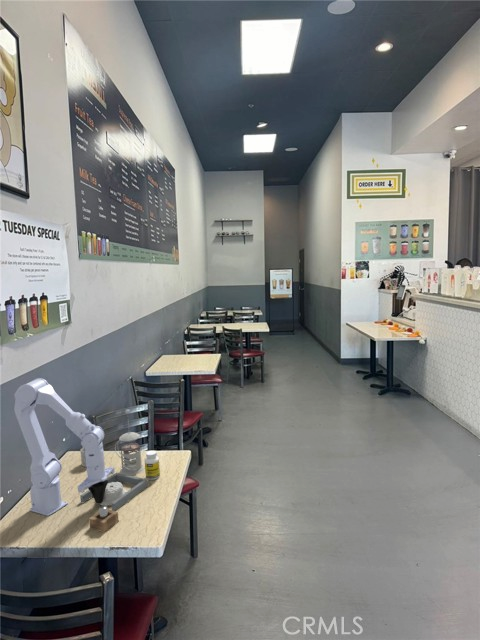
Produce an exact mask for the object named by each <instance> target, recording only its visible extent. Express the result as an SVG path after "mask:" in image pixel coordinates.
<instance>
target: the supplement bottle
mask: <svg viewBox="0 0 480 640" xmlns="http://www.w3.org/2000/svg"><path fill="white" fill-rule="evenodd" d="M157 454H158V453H157V450H148V451H146V452H145V458H144V468H145V469H144V470H145V479H148V481H149V480H150V481H153V480H156V479H159V478H160V476H161V473H160V472H161V470H160V458H159V457H158V456H157Z"/></svg>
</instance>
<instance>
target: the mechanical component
mask: <svg viewBox="0 0 480 640" xmlns="http://www.w3.org/2000/svg"><path fill="white" fill-rule="evenodd" d="M122 483H123V482H119V481H116V482H111V483H108V484H107V486H106V488H105V492H104V496H103V502H102V503H100V504H99V505H101V506H111V503H112V502H114V501H115V500H116V499H118V498H119V497H121V496H122V495H123V494H125V493H126V492H128V491H127V489H126V488H124V487H123V484H122Z"/></svg>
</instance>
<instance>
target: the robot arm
mask: <svg viewBox="0 0 480 640" xmlns="http://www.w3.org/2000/svg"><path fill="white" fill-rule="evenodd" d="M13 396H14V400H15V401H14V409H13V410H14V414H15V418H16V420H17V422H18V424H19V427H20V430H21V433H22V435H23V436H22V437H23V438H24V441H25V443H26V446H27V449H28V452H29V454H30V457H31V462H30V463H31V464H30V467H29V471H30V473H31V474H30V481H31V483H32V485H31V486H30V489H29V495H30V503H31V508H29V512H33V513H37V514H40V515H44V516H46V517H49V516H51V515H52V514H54V513H56V512H57V511H58V510H60V509H62V508H63V507H65V506H67V505H68V503H69V502H68V501H64V500H62V491H61V482H60V473H61V472H62V469H63V464H62V463H61V461H60V460H59V459H58V458H57V456H56V454H55V453H53V452H51V451H50V449H49V447H48V444H47V441H46V438H45V436H44V433H43V430H42V428H41V425H40V423H39V419H38V417H37V414H36V411H35V408H36V406H37V405H46V406H49V408H50V409H52V410H53V411H54V412H55V413H57V414H58V415H59V416H60V417H61V418H63V419H64V420H65V427H67V429H69V430H71V432H73V434H74V435H76V437H77V438H79V439H80V440H81V441H80V444H81V446H82V448H83V447H84V448H85V455H86V466H87V467H86V474H87V477H86V478H85V479H84V480H83V481H82V482H81V483H80V484H79V485H77V492H78V493H82V494H83V493H85V492H86V490H87V489H88V490H90V492H91V493H92V495H93V497H92V498H93V500H94V502H95V504H98V505H101V504H100V503H102V502H103V496H104V492H105V488H106V486H107V484H108V480H107V478H108V477H109V476H111V475H113V474H115V473H116V472H115V467H112V466H109V467H107V468H106V466H105V454H104V445H103V440H104V438H105V431H104V429H103V428H102V427H101V426H99V425H95V424H94V423H93V424H92V422H91V421H90V420H89V419H87V418H86V415H85V414H84V413H81V412H78V411H77V412H76V411H74V410H72V408H71V407H70V406H69V405H68V404H67V403H66V402H65V400H63V399H62V398H61V396H60V395H59V394H57V393H56V391H55V389H54V387H53V386H52V385H51V384H50V383H48V381H47V380H46V379H44V378H42V377H41V378H40V377H39V378H38V377H37V378H35V379H32V380H31V381H29V382H28V383H25V384H22V385H20V386H19V387H18V388H17V390H16V391H15V392H14V394H13Z"/></svg>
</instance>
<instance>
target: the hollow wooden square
mask: <svg viewBox="0 0 480 640" xmlns="http://www.w3.org/2000/svg"><path fill="white" fill-rule="evenodd" d="M107 510H108V517H107V518H105V519H104V520H103V519H100V514H99V511H98V512H96V513H95V514H93V515H92V516H91V517H89V518H88V521H89V529H93V530H96V531H99V532H103V533H105V532H107V531H108V530H110V528H112V527H114V525H115V524H117V523H118V522H119V513H118V511H117V510H115V511H112V509H108V508H107Z"/></svg>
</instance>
